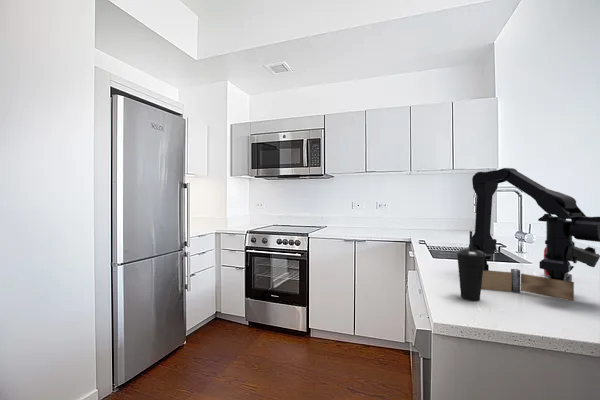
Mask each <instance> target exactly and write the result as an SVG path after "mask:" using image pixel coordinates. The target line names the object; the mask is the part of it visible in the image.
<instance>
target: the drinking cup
mask: <svg viewBox="0 0 600 400" xmlns="http://www.w3.org/2000/svg"><path fill="white" fill-rule="evenodd" d="M472 236H473V230H469V243H468V247H467V248H461V249H459V250H456V252H455V254H456V255H457V256H456V257H457V258H456V259H457V266H458V267H457V268H458V277H459V290H460V297H461V298H462V299H463V300H465V301H470V302H479V301H480V300H481V294H482V293H481V292H482V289H481V285H482V277H483V268H484V259H485V256H486V254H485V253H483V252H481V251H479V250H477V249H472Z"/></svg>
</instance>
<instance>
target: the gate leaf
mask: <svg viewBox="0 0 600 400" xmlns="http://www.w3.org/2000/svg"><path fill="white" fill-rule="evenodd" d="M574 288H575V282H574V281H572V282H571V281H564V280H558V279H552V278H550V277H544V276H539V275H533V274H527V273H520V292H525V293H530V294H535V295H540V296H545V297H550V298H556V299H561V300H566V301H571V302H574V300H575V299H574V295H575V289H574Z"/></svg>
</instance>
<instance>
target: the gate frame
mask: <svg viewBox="0 0 600 400" xmlns="http://www.w3.org/2000/svg"><path fill="white" fill-rule="evenodd" d="M564 281H571V282H573V275H572V274H570V273H568V274H566V276H565V279H564ZM481 290H489V291H490V290H491V291H497V292H498V291H499V292H510V293H515V294H520V293H521V270H520V269H517V268H516V269H515V268H511V269H510V271H501V270H500V271H499V270H483V277H482V285H481Z"/></svg>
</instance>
